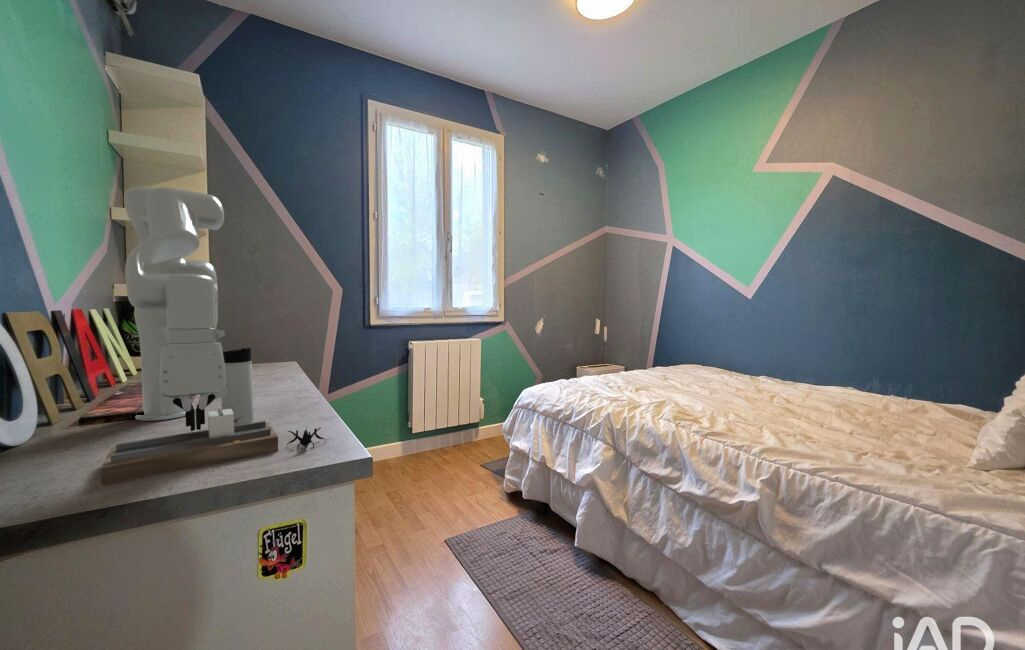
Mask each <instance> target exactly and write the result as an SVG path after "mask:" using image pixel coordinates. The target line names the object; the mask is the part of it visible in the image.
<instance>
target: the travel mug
mask: <svg viewBox="0 0 1025 650" xmlns="http://www.w3.org/2000/svg"><path fill="white" fill-rule="evenodd" d="M223 356H224V363H225V374H226V389H227V392H228V395H227V396H224V397H221V400H220V401H221V409H222V410H225V409H232V411H233V414H234V426H235V425H241V424H248V423H254V396H253V392H254V391H253V365H252V362H253V361H252V348H251V347H242V348H240V349H233V350H227V351H223Z"/></svg>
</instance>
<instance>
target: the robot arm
mask: <svg viewBox="0 0 1025 650" xmlns="http://www.w3.org/2000/svg"><path fill="white" fill-rule="evenodd" d="M123 195H124V196H123V203H124V206H125V207H124V208H125V211H126V214H127V216H128V219H129V221H130V223H131V225H132V227H133V229H134V231H135V232H136V236H137V238H138V245H135V247H134V248H133V250H131V252H130V253H129V255H128V256H127V258H126V261H125V266H124V267H125V268H124V274H125V277H124V278H125V285H126V286H125V287H126V295H127V299H128V302H129V303H130V304H131V306H132V307H134V310H133V315H134V322H135V325H136V329H137V333H138V339H139V340H138V341H139V348H140V350H139V351H140V366H141V367H140V368H141V388H142V389H141V392H142V393H141V394H142V411H144V415H136V414H135V415H136V416H135V418H134V419H135V420H137V421H142V422H153V421H154V422H155V421H164V420H170V419H171V420H172V419H177V418H178V419H179V418H182V417H185V427H186V428H187V427H190V432H195V431H196V430H197V431H202V425H205V424H206V415H205V414H206V412H205V409H206V408H207V407H208V406H209V405H210V404H211V403H212V402H213V401H214V400H216V399H220V398H221V397H224V396H227V395H228V392H227V389H226V374H225V363H224V356H223V352H224V350H223V346H222V343H221V342H217V340H218V339H220V338H225V337H226V333H225V330H221V329H217V327H218V323H219V322H218V321H219V311H218V310H219V306H218V305H219V303H218V302H219V301H218V300H219V291H218V277H217V273H216V270H215V267H214V265H213V264H211V263H210V262H208V261H205V260H201V259H200V260H198V259H197V260H196V259H184V258H186V257H188V256H190V255H193V254H194V253H195V252H197V250H198V249H199V248H200V244H201V243H200V236H199V232H198V229H207V230H212V231H218V230H220V229H221V227H222V226H223V224H224V222H225V211H224V208H223V204H222V203H221V201H220V200H219V199H218V197H216V196H215V195H213V194H209V193H204V192H198V191H192V190H188V189H187V190H186V189H182V188H181V189H180V188H174V187H150V186H149V187H148V186H132V187H129V188H128V189H126V190H125V191H124V194H123ZM196 395H197V396H198V395H199V399H198V404H196V405H193V404H192V403H191V399H190V396H196Z"/></svg>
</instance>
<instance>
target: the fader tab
mask: <svg viewBox="0 0 1025 650" xmlns="http://www.w3.org/2000/svg"><path fill="white" fill-rule="evenodd" d="M207 418H208V419H207V423H208V430H209V438H214V437H220V436H226V435H233V434H234V414H233V411H232V409H225V410H222V408H217V410H212V411H207Z"/></svg>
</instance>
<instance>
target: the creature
mask: <svg viewBox="0 0 1025 650" xmlns="http://www.w3.org/2000/svg"><path fill="white" fill-rule="evenodd" d="M307 428H308V426H306V429H305V430H304V431H303V435H302V437H300V435H299V430H298V429H296V431H295V432H294V431H291V430H288V432H289V433H291V434H292V435H293V436H294V438H293V439H292V440H290V441H288V442H287V443H286V445H287V446H289V444H291V443H294V442H295V441H297V440H298V441H299V443H297V446H296V449H297V450H298V449H300V445H301V446H304V447H305V448H307V447H308V446H309V445H310V444H312V447H313V446H314V445H315V446H316V445H317V443H315V442H313V441H312V438H313V437H314V436H315V438H317V439H319V440H326V441H327V439H326V438H324V437H321V436H320V435H319V434H317V432H318V431H319V430H320V429H321V427H318V428H316V427H315V428H314V430H313V433H312V434H311V431H308V429H307ZM314 443H315V444H314Z"/></svg>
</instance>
